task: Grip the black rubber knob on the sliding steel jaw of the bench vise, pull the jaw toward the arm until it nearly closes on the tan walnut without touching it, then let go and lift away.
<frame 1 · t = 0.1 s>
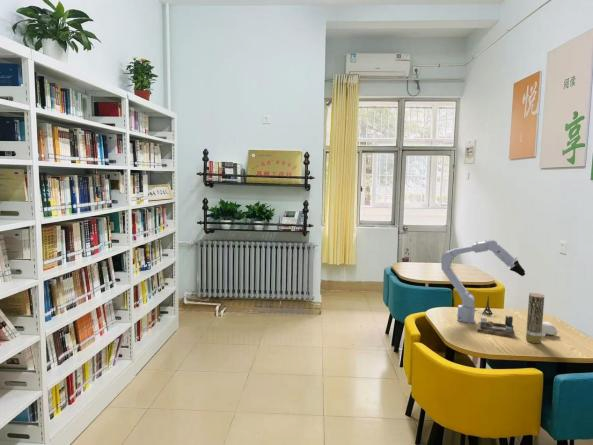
hand: (523, 273, 226), 32 cm above the table, tool tilted 50°, fingers open, 7 cm apart
vise base: (495, 330, 224), on the table
penguin: (541, 334, 220), on the table
eiffel tower figurine: (486, 314, 256), on the table
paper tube: (533, 341, 209), on the table
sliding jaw: (508, 323, 221), point 5 cm above the table, slide at 0.0 cm
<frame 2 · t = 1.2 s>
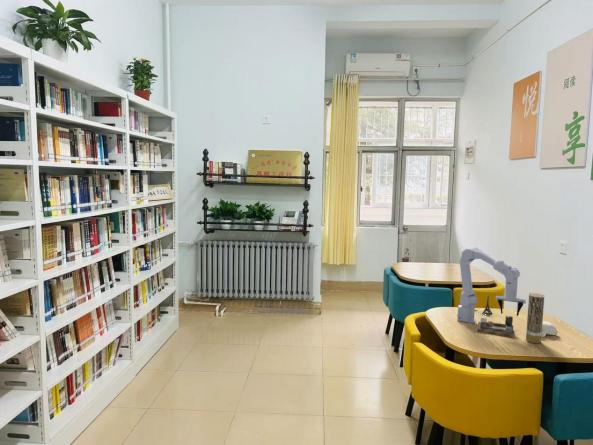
hand: (509, 314, 221), 10 cm above the table, tool pointing down, fingers open, 7 cm apart
nothing on the table moved.
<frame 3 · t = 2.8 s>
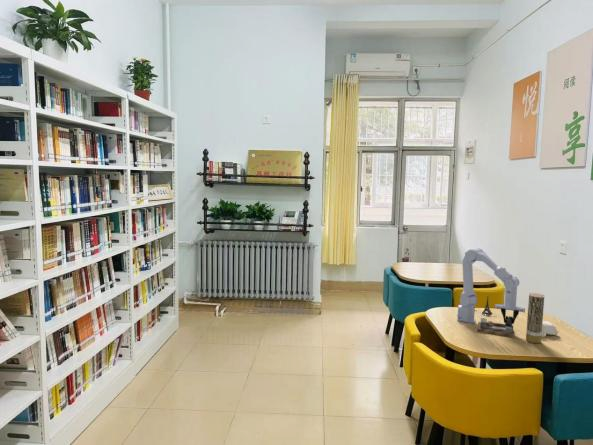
hand: (508, 322, 221), 6 cm above the table, tool pointing down, fingers closed on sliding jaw, 3 cm apart
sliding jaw: (508, 323, 221), point 5 cm above the table, slide at 0.0 cm, touching gripper
everything else where it was.
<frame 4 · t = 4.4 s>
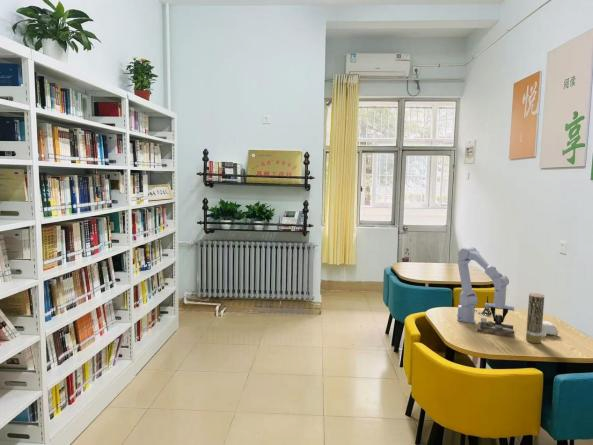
hand: (498, 321, 223), 6 cm above the table, tool pointing down, fingers closed on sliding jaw, 3 cm apart
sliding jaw: (498, 321, 223), point 5 cm above the table, slide at 5.2 cm, touching gripper
everything else where it was.
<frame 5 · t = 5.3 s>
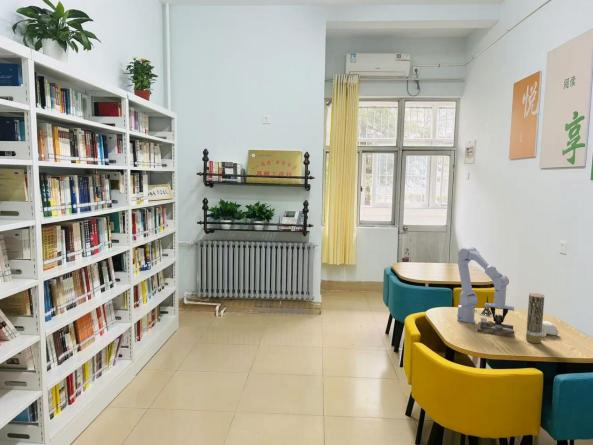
hand: (498, 321, 223), 6 cm above the table, tool pointing down, fingers closed on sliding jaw, 3 cm apart
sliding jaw: (498, 321, 223), point 5 cm above the table, slide at 5.2 cm, touching gripper
everything else where it was.
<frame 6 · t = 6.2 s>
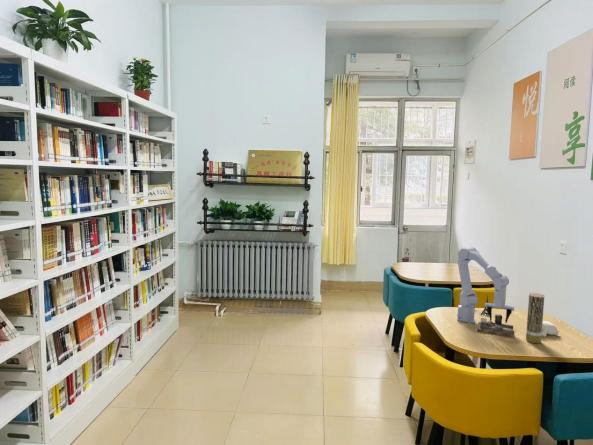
hand: (498, 321, 223), 6 cm above the table, tool pointing down, fingers open, 7 cm apart
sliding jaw: (498, 321, 223), point 5 cm above the table, slide at 5.2 cm
everything else where it was.
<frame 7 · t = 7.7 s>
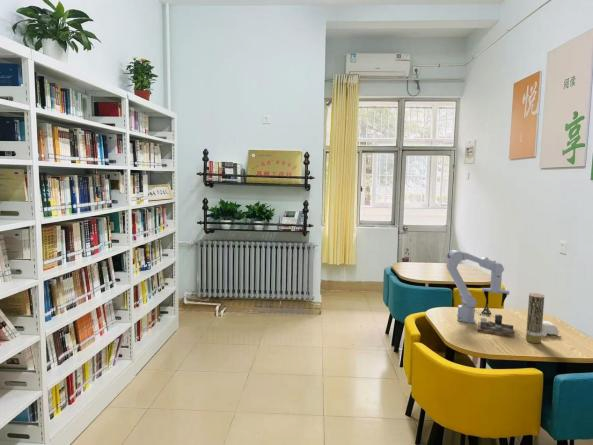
hand: (494, 304, 239), 10 cm above the table, tool pointing down, fingers open, 7 cm apart
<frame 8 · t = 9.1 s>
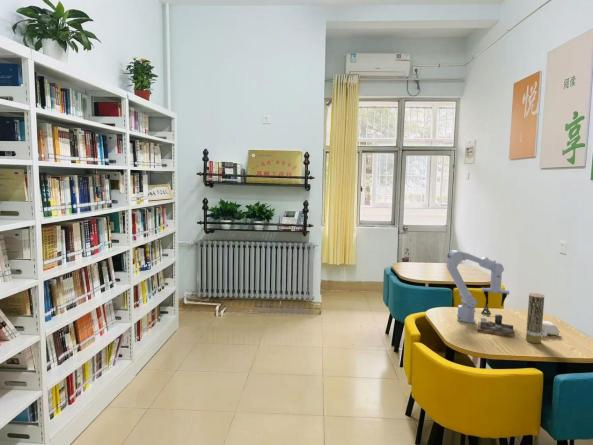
hand: (494, 304, 239), 10 cm above the table, tool pointing down, fingers open, 7 cm apart
at the end: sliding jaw slide at 5.2 cm; the gripper is holding nothing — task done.
